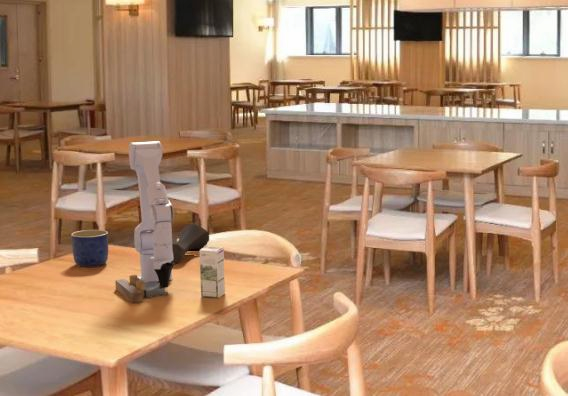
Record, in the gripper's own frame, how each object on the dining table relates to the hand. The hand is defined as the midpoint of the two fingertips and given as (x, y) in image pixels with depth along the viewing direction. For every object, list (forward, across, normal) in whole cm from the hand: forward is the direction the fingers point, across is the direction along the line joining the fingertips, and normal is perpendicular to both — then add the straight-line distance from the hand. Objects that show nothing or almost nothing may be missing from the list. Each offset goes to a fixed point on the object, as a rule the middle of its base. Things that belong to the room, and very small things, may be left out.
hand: (164, 287), depth 306 cm
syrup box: (+2, +3, +16) cm, 16 cm away
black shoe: (+1, -49, -6) cm, 50 cm away
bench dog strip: (+1, +5, -8) cm, 10 cm away
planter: (+1, -33, -36) cm, 48 cm away
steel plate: (+2, +2, -4) cm, 5 cm away
